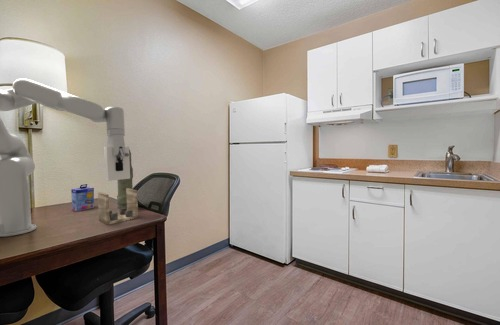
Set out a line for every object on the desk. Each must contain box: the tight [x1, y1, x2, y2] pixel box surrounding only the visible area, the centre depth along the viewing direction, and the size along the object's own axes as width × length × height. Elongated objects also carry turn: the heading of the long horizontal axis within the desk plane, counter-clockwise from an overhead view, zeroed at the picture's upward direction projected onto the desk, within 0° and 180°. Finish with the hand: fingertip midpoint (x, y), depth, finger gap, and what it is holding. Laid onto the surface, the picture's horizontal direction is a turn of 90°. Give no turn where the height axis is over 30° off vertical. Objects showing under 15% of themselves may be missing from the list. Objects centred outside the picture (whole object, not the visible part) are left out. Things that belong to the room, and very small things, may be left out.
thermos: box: [116, 148, 134, 210], centre depth 141 cm, size 9×12×35 cm
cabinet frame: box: [97, 188, 139, 226], centre depth 117 cm, size 14×10×14 cm
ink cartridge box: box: [70, 183, 95, 212], centre depth 137 cm, size 10×6×14 cm, turn 155°
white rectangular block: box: [103, 146, 130, 182], centre depth 115 cm, size 10×5×16 cm, turn 140°
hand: (117, 170), depth 116 cm, fingers closed on white rectangular block, 4 cm apart
